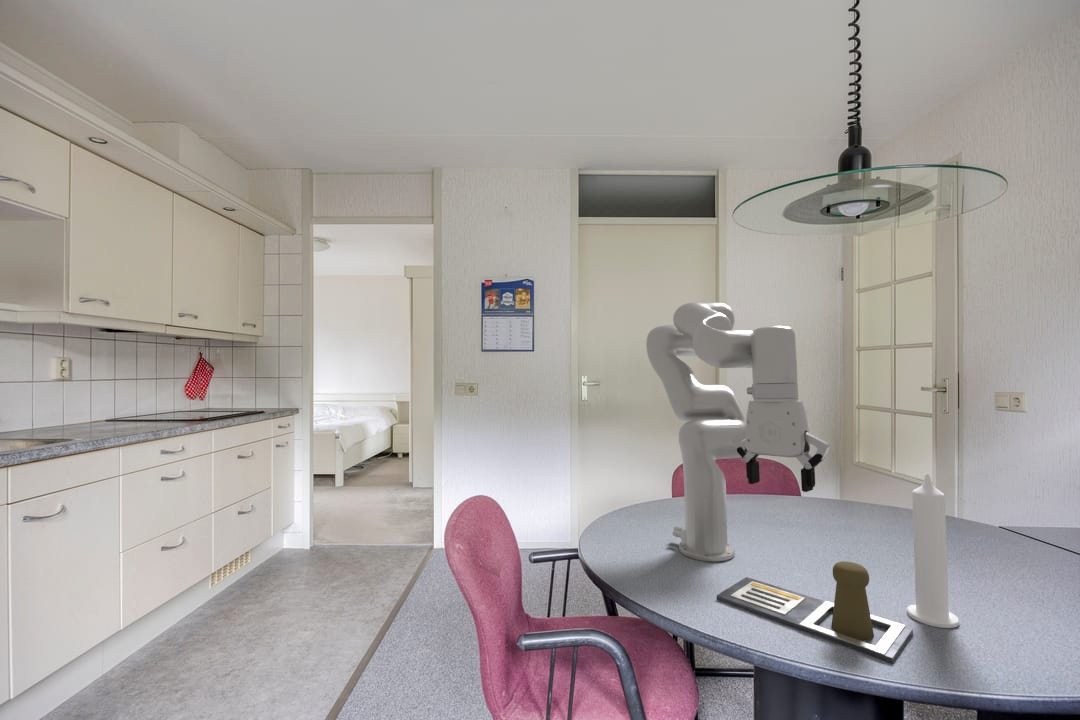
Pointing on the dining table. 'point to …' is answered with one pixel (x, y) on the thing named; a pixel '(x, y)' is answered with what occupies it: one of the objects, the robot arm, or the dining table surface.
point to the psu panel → (811, 616)
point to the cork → (851, 602)
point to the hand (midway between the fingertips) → (779, 486)
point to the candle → (930, 558)
